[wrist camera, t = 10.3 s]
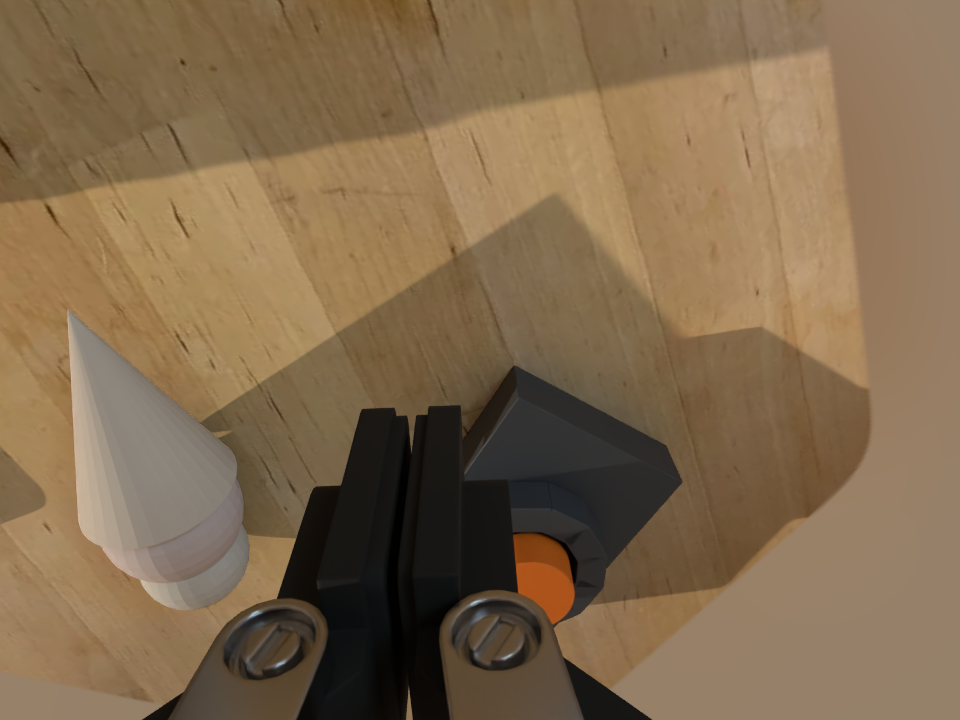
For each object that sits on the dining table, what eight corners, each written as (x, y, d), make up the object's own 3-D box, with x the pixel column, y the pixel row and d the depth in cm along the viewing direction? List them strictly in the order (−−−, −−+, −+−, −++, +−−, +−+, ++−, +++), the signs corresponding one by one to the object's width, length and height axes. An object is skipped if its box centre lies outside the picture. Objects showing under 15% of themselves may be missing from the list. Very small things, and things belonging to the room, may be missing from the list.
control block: (514, 365, 29) (521, 421, 25) (666, 445, 31) (696, 510, 27) (383, 555, 33) (371, 629, 29) (522, 615, 35) (529, 692, 31)
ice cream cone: (130, 247, 26) (243, 513, 35) (-53, 313, 23) (122, 585, 32) (191, 304, 22) (302, 587, 31) (-18, 391, 19) (170, 677, 28)
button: (511, 518, 27) (514, 549, 26) (586, 553, 28) (593, 585, 27) (465, 577, 29) (465, 610, 27) (538, 609, 30) (542, 642, 28)
